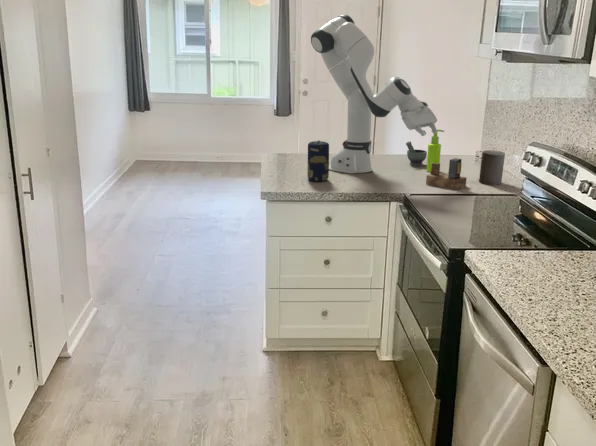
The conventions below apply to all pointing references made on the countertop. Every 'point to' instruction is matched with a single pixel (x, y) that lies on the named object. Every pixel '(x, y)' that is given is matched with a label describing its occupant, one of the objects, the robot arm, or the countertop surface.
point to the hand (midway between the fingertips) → (430, 133)
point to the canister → (318, 161)
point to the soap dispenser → (433, 151)
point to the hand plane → (444, 179)
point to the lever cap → (454, 168)
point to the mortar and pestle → (415, 155)
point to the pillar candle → (491, 167)
